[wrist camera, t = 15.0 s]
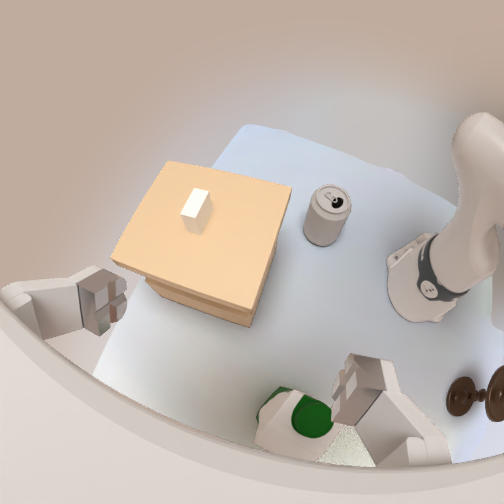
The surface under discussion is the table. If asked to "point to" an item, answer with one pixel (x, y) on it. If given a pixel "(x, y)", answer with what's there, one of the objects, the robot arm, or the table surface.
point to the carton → (208, 305)
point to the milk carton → (295, 425)
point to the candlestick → (478, 396)
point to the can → (327, 214)
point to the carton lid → (205, 233)
